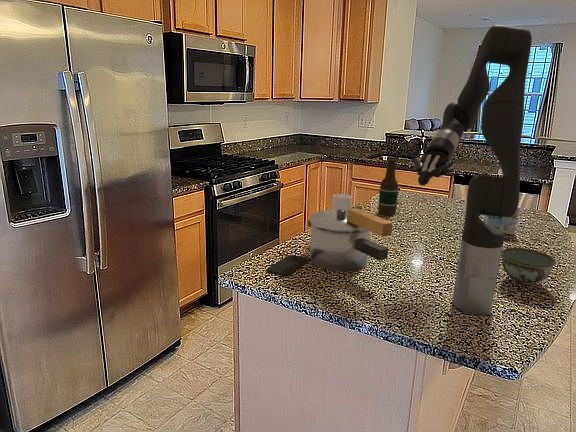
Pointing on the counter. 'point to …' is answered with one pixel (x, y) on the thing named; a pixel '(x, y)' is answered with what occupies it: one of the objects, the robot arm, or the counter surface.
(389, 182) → the beer bottle
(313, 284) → the counter surface
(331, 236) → the pot
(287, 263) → the phone
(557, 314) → the counter surface
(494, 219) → the light bulb box
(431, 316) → the counter surface
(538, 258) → the bowl
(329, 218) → the lid
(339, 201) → the drinking glass
